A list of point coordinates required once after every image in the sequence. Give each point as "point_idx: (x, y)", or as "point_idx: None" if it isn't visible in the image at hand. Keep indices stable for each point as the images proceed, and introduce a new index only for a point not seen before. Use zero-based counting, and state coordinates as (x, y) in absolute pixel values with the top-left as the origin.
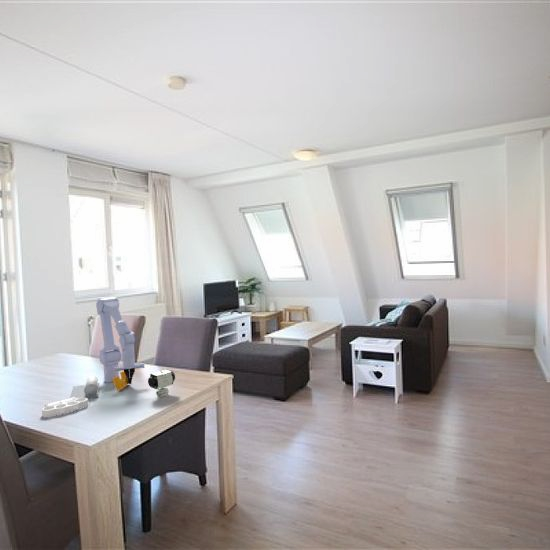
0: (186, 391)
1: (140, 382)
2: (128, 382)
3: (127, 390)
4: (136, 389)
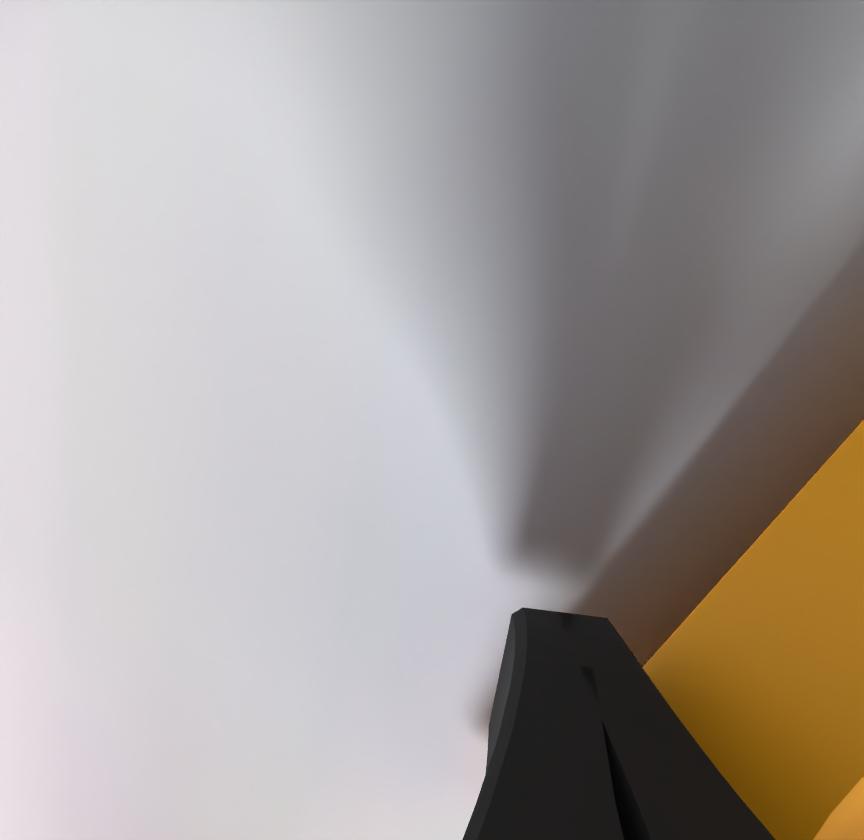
0: None
1: (171, 794)
2: None
3: (776, 171)
4: (401, 64)
